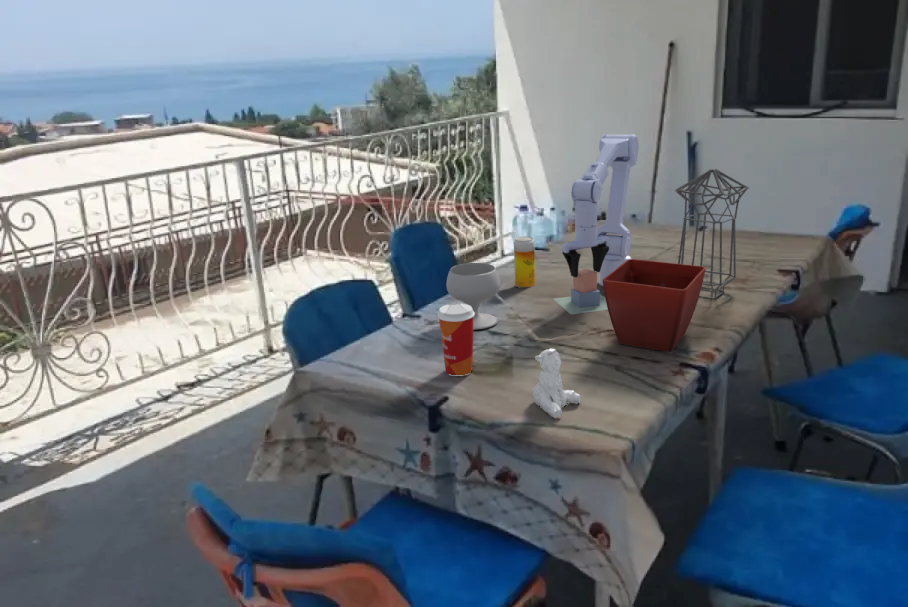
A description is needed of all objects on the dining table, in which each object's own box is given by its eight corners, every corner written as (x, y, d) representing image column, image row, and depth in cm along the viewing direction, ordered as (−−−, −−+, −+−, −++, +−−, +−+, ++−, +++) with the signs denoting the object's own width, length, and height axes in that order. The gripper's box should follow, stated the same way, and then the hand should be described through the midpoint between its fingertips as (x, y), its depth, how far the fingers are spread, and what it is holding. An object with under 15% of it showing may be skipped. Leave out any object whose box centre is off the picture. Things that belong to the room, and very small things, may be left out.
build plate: (598, 295, 204) (598, 292, 204) (619, 310, 191) (619, 308, 191) (552, 301, 202) (552, 298, 201) (570, 317, 189) (570, 314, 188)
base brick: (591, 298, 200) (591, 285, 198) (599, 305, 194) (600, 291, 193) (571, 301, 198) (571, 287, 197) (579, 307, 193) (579, 294, 192)
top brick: (586, 285, 198) (586, 268, 196) (596, 289, 194) (596, 272, 192) (573, 288, 196) (573, 271, 194) (583, 292, 192) (583, 275, 191)
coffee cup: (439, 365, 163) (435, 304, 158) (475, 362, 164) (472, 301, 159) (442, 381, 155) (438, 316, 151) (479, 377, 156) (476, 313, 151)
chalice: (440, 319, 192) (437, 266, 187) (487, 310, 197) (485, 258, 192) (461, 336, 180) (458, 279, 175) (510, 326, 185) (509, 270, 180)
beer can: (534, 289, 212) (533, 241, 208) (513, 289, 214) (512, 241, 209) (536, 283, 218) (535, 236, 213) (516, 283, 219) (515, 236, 214)
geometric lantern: (666, 295, 201) (672, 171, 191) (691, 282, 212) (698, 164, 202) (721, 305, 191) (730, 174, 181) (744, 291, 202) (754, 166, 191)
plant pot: (681, 360, 159) (685, 289, 153) (599, 347, 169) (601, 279, 163) (702, 332, 174) (706, 266, 169) (626, 321, 184) (628, 258, 178)
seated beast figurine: (556, 421, 136) (556, 363, 132) (520, 408, 141) (518, 353, 137) (583, 402, 142) (583, 347, 139) (547, 391, 148) (546, 338, 144)
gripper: (598, 218, 195) (597, 265, 200) (554, 226, 189) (555, 275, 194) (614, 222, 190) (614, 271, 194) (570, 231, 183) (570, 281, 188)
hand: (585, 273), depth 194 cm, fingers open, 7 cm apart
